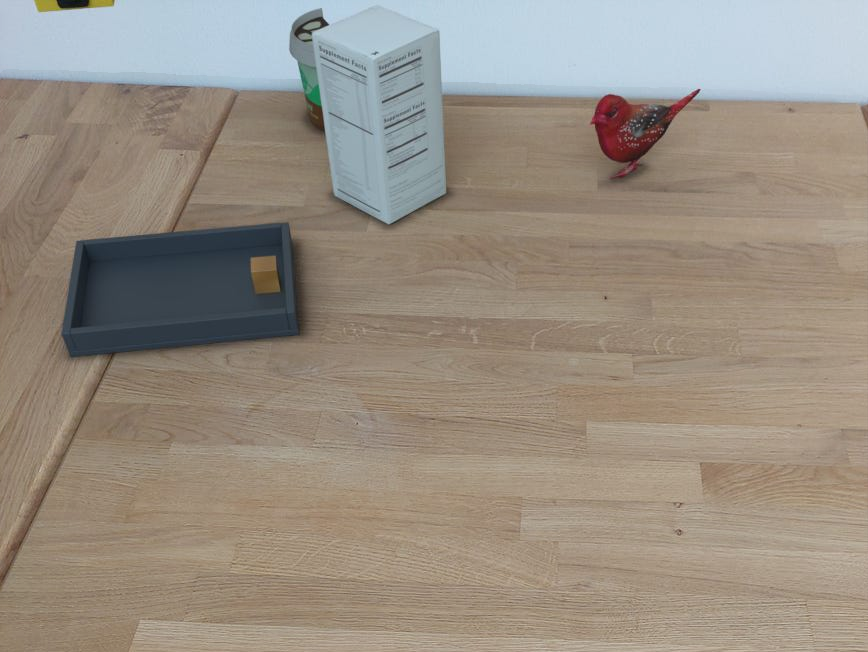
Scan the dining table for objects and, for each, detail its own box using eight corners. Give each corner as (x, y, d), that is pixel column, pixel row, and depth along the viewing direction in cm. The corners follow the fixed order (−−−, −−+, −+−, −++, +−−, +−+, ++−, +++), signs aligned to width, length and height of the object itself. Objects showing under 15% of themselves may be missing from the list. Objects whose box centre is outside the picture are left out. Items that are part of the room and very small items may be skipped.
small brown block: (255, 294, 96) (250, 272, 94) (255, 279, 98) (250, 257, 96) (280, 292, 96) (276, 269, 94) (280, 277, 98) (275, 255, 96)
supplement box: (449, 194, 108) (444, 29, 94) (389, 227, 104) (375, 60, 91) (390, 164, 112) (377, 1, 98) (330, 195, 108) (308, 29, 94)
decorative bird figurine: (574, 190, 109) (582, 97, 100) (682, 138, 115) (697, 48, 107) (592, 200, 107) (601, 107, 99) (700, 148, 114) (716, 57, 106)
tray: (70, 357, 91) (60, 334, 89) (84, 263, 100) (76, 240, 98) (299, 334, 93) (294, 311, 91) (292, 244, 102) (288, 221, 100)
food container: (285, 105, 120) (270, 16, 112) (331, 94, 122) (320, 6, 114) (321, 149, 114) (309, 58, 106) (369, 137, 116) (361, 47, 108)
